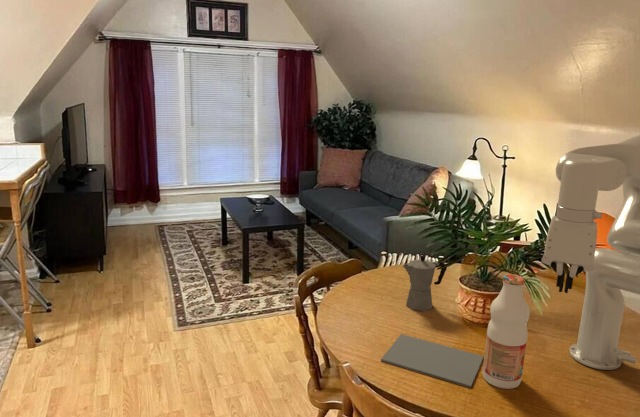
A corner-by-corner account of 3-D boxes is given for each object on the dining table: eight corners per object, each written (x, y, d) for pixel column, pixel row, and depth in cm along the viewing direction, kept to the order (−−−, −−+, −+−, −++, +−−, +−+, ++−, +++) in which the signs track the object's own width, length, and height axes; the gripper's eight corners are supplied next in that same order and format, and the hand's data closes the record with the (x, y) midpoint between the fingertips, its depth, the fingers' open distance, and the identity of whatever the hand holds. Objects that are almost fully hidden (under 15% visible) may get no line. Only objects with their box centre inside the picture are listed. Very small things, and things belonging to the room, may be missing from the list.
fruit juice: (475, 370, 129) (486, 271, 122) (507, 367, 130) (520, 269, 123) (494, 391, 120) (507, 286, 113) (528, 388, 121) (543, 283, 115)
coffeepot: (405, 312, 161) (408, 261, 156) (396, 300, 170) (399, 251, 165) (449, 309, 163) (453, 259, 159) (438, 298, 172) (442, 250, 168)
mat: (483, 357, 135) (483, 356, 134) (470, 387, 121) (470, 385, 121) (401, 335, 146) (401, 333, 146) (380, 360, 132) (381, 358, 132)
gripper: (613, 215, 108) (600, 291, 113) (540, 206, 115) (530, 278, 120) (614, 223, 102) (600, 303, 106) (536, 213, 109) (526, 289, 114)
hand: (563, 290), depth 113 cm, fingers closed
